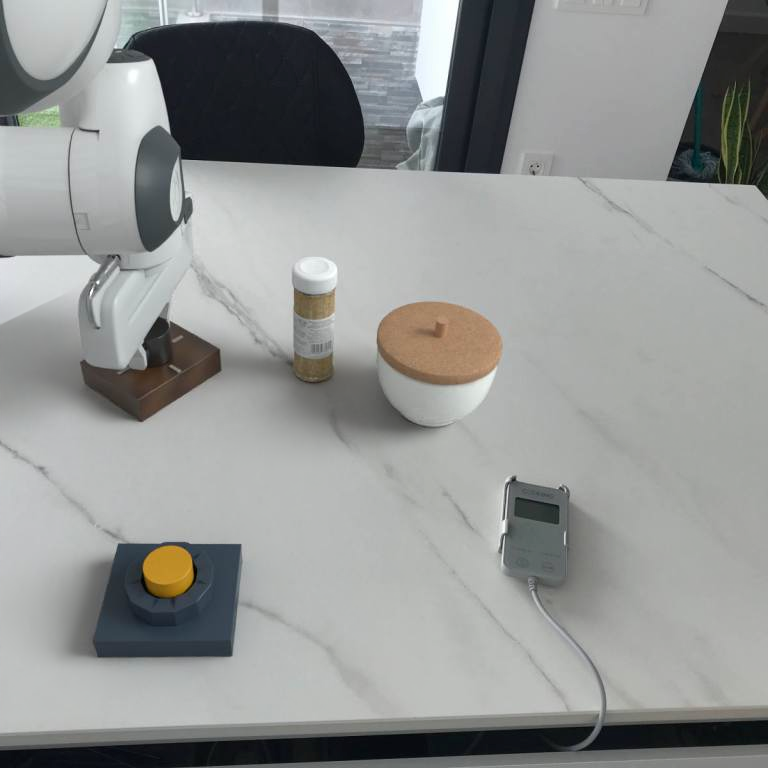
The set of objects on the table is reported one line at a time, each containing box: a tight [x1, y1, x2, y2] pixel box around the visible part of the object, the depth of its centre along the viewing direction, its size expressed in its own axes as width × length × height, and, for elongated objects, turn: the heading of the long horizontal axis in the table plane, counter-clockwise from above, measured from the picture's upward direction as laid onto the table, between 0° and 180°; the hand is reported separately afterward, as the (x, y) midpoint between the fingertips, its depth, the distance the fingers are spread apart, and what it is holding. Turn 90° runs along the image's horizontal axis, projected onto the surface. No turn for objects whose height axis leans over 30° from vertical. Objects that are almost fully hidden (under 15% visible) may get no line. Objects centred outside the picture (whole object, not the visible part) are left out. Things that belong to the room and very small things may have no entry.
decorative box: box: [376, 301, 503, 428], centre depth 80 cm, size 13×13×11 cm
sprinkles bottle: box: [291, 256, 338, 383], centre depth 82 cm, size 5×5×14 cm
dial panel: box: [79, 319, 222, 423], centre depth 82 cm, size 11×9×3 cm
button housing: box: [92, 541, 243, 658], centre depth 61 cm, size 10×9×4 cm
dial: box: [142, 317, 173, 367], centre depth 80 cm, size 4×4×4 cm
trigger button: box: [143, 546, 194, 598], centre depth 59 cm, size 4×4×2 cm
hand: (150, 348), depth 81 cm, fingers closed on dial, 4 cm apart
